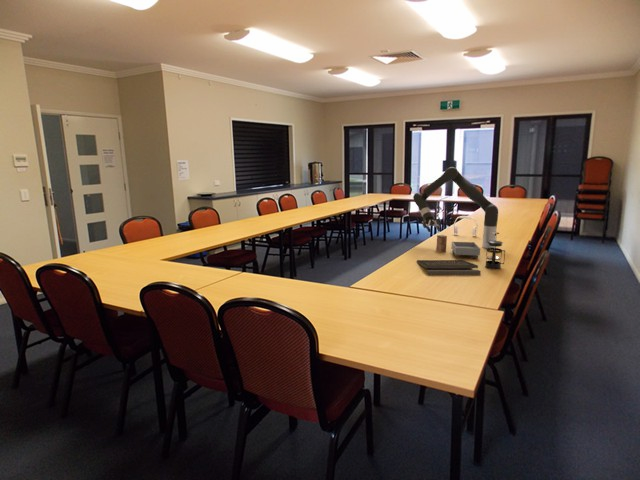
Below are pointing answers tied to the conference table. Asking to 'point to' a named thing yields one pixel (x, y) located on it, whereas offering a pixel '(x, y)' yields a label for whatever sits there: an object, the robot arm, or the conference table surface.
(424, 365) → the conference table surface
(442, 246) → the walnut block
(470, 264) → the shutter
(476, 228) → the headset
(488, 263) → the french press
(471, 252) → the shallow gray tray
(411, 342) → the conference table surface
